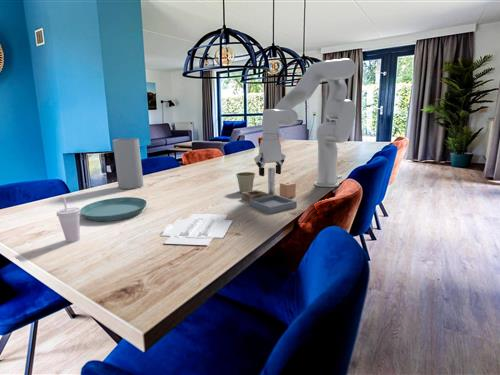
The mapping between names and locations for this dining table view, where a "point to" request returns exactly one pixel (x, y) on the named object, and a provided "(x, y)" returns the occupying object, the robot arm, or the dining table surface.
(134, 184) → the cylinder vase
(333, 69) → the robot arm
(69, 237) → the smoothie
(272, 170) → the steel pin
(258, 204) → the grey square tray
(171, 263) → the dining table surface
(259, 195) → the walnut bore block
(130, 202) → the teal plate
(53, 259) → the dining table surface
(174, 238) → the white flat piece
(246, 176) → the flower pot
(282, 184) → the orange block with knob
